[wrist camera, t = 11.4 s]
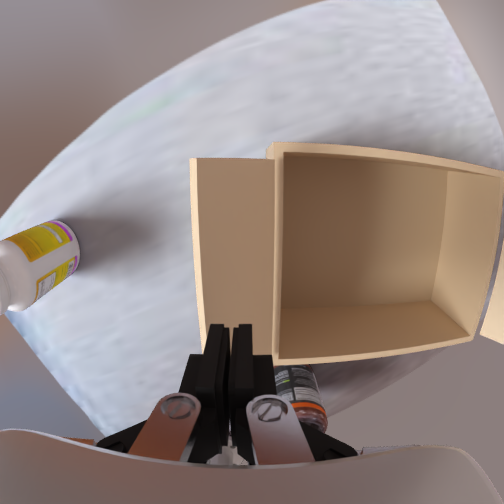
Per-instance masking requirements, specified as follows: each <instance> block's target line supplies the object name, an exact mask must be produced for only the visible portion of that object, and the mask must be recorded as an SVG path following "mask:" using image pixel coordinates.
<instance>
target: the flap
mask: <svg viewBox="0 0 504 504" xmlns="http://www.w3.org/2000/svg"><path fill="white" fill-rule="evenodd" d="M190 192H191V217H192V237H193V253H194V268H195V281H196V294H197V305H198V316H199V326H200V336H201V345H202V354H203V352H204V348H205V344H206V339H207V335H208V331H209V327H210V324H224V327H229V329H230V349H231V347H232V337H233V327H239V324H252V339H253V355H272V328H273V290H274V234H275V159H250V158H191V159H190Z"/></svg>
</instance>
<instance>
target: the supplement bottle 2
mask: <svg viewBox="0 0 504 504" xmlns="http://www.w3.org/2000/svg"><path fill="white" fill-rule="evenodd" d="M274 374H275V382H276V390H277V396H281V397H283V398H285V399H287V400H288V401H289V402H290V403H291V405H292V406H293V409H294V411H295V414H296V416H297V418H298V420H300V421H301V422H303V423H305V424H307V425H309V426H311V427H313V428H315V429H317V430H319V431H321V432H323V433H325V431H326V429H327V424H328V422H327V417H326V413H325V409H324V405H323V402H322V398H321V395H320V392H319V388H318V385H317V381H316V378H315V375H314V372H313V370H312V368H311V367H310V366H309V365H308V364H300V365H274Z"/></svg>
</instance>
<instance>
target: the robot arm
mask: <svg viewBox="0 0 504 504" xmlns="http://www.w3.org/2000/svg"><path fill="white" fill-rule="evenodd" d="M229 423H230V425H231V436H232V437H231V436H229ZM244 459H245V460H246V461H248V465H240V464H241V463H242V462H243V460H244ZM0 504H504V503H503V501H502V499H501V497H500V496H499V494H498V492H497V490H496V489H495V487H494V486H493V484H492V483H491V481H490V479H489V478H488V476H487V475H486V473H485V472H484V471H483V469H482V468H481V467H480V465H479V464H478V463H477V462H476V461H475V460H474V459H473V458H472V457H471V456H470V455H469V454H468V453H467V452H465V451H463V450H462V449H459V448H456V447H451V446H444V445H423V446H420V445H406V446H391V447H363V448H362V450H354V448H352V447H351V446H349V445H347V444H345V443H343V442H341V441H339V440H337V439H335V438H332V437H330V436H329V435H326V434H325V433H323V432H321V431H319V430H317V429H315V428H313V427H311V426H309V425H307V424H305V423H303V422H301V421H300V420H298V418H297V416H296V414H295V411H294V409H293V406H292V405H291V403H290V402H289V401H288V400H287V399H285V398H283V397H281V396H277V390H276V382H275V374H274V366H273V357H272V355H253V339H252V324H239V327H233V337H232V347H231V349H230V329H229V327H224V324H210V327H209V331H208V335H207V339H206V344H205V348H204V352H203V354H190V356H189V359H188V362H187V366H186V369H185V372H184V376H183V379H182V382H181V386H180V389H179V392H178V393H173V394H169V395H166V396H165V397H163V398H161V399H160V400H159V402H158V403H157V404H156V406H155V408H154V410H153V411H152V413H151V415H150V416H149V418H148V419H147V420H145V421H143V422H141V423H138V424H136V425H134V426H132V427H129V428H127V429H125V430H122V431H120V432H118V433H115V434H113V435H110V436H108V437H106V438H104V439H102V440H100V441H99V442H98V443H97V442H95V441H94V439H80V438H69V437H58V436H54V435H51V434H47V433H42V432H38V431H32V430H26V429H5V430H0Z"/></svg>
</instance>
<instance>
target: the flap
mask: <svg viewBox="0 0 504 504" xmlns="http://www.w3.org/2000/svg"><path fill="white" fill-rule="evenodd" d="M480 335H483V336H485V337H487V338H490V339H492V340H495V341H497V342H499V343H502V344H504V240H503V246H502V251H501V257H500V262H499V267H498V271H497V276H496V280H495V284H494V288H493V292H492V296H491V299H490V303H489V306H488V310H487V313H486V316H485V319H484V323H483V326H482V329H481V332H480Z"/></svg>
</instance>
